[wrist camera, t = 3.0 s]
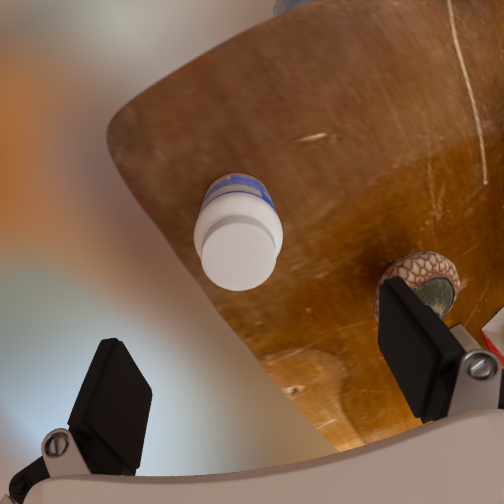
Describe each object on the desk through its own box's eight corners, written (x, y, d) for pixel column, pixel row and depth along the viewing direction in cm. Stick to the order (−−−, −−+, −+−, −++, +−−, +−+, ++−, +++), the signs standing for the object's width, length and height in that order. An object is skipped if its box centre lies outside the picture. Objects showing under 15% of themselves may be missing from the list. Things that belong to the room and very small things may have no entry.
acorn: (349, 234, 27) (399, 297, 18) (427, 217, 27) (492, 267, 18) (353, 308, 31) (390, 380, 22) (423, 288, 30) (472, 348, 21)
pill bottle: (268, 235, 27) (287, 303, 18) (203, 235, 26) (191, 303, 18) (272, 171, 24) (295, 211, 16) (202, 171, 24) (185, 211, 15)
